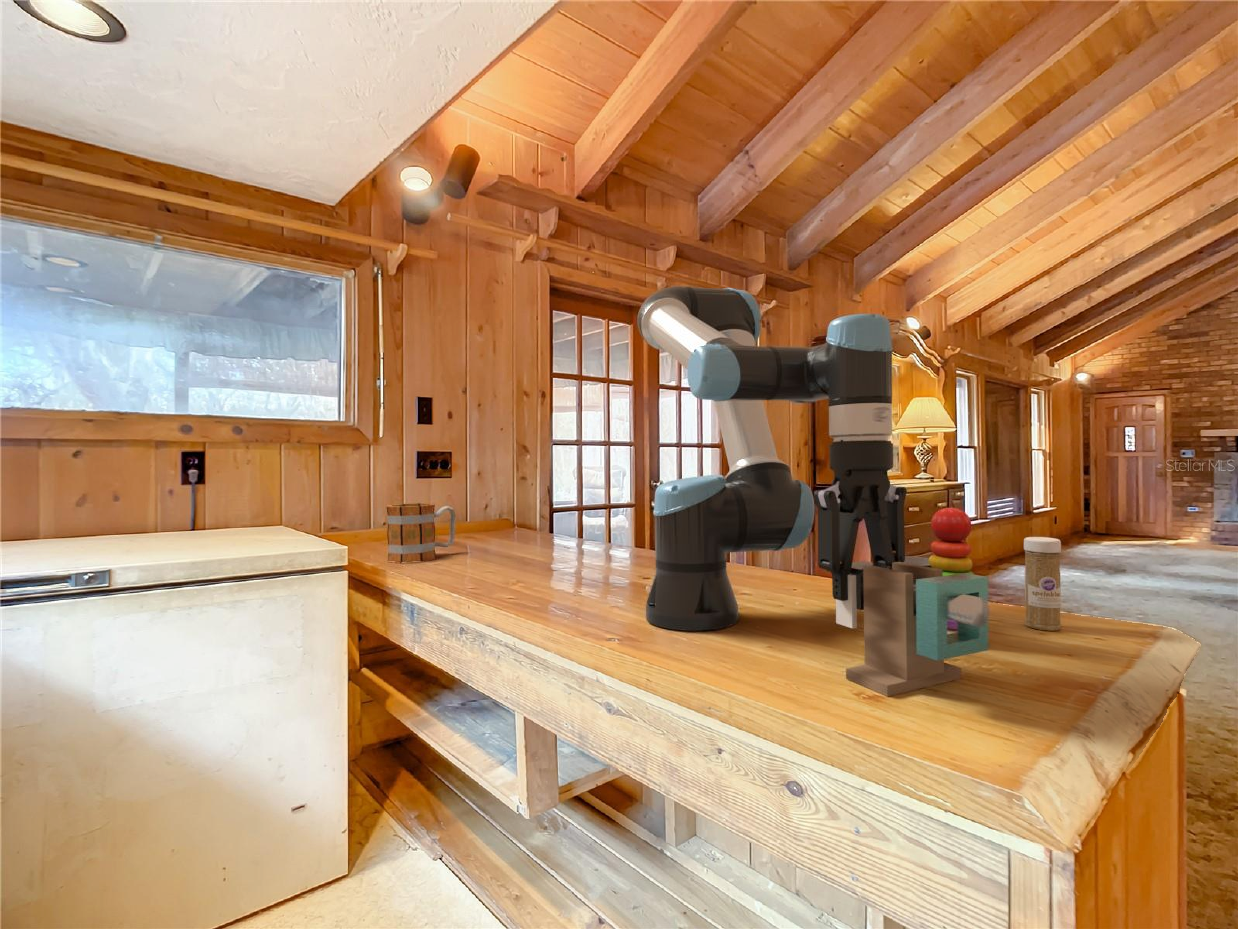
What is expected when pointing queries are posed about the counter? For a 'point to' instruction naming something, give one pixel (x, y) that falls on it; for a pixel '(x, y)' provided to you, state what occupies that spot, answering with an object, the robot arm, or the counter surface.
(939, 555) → the stacking toy
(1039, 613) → the sprinkles bottle
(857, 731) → the counter surface
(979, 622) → the shaft
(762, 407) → the robot arm
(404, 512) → the mug
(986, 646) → the spacer
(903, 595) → the bearing block
